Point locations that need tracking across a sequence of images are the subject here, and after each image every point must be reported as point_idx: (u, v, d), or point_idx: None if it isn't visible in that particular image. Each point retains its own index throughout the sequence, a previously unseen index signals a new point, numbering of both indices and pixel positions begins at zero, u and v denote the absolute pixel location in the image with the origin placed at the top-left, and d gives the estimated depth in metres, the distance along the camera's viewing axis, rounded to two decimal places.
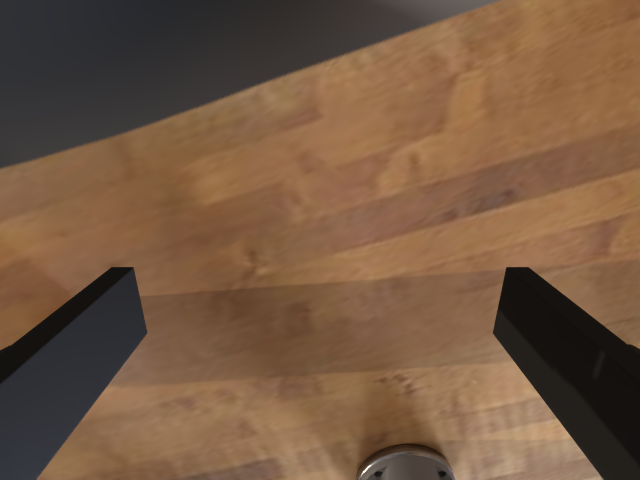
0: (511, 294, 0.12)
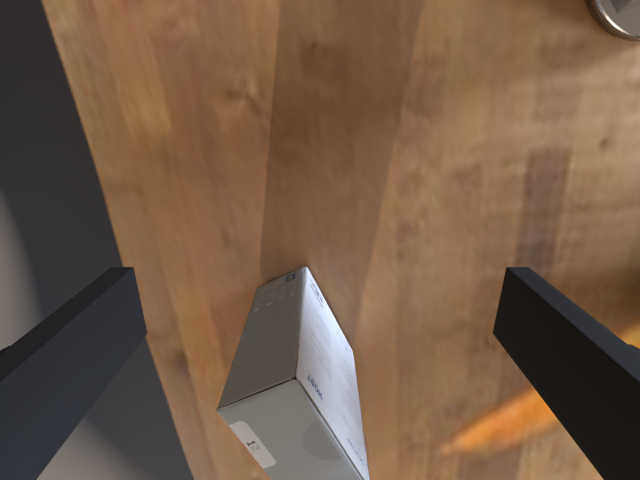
0: (511, 294, 0.12)
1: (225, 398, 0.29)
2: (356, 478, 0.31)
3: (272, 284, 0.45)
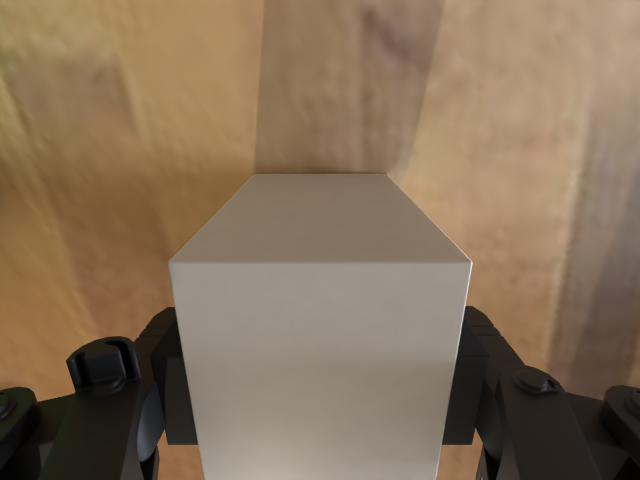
0: None
1: None
2: None
3: None
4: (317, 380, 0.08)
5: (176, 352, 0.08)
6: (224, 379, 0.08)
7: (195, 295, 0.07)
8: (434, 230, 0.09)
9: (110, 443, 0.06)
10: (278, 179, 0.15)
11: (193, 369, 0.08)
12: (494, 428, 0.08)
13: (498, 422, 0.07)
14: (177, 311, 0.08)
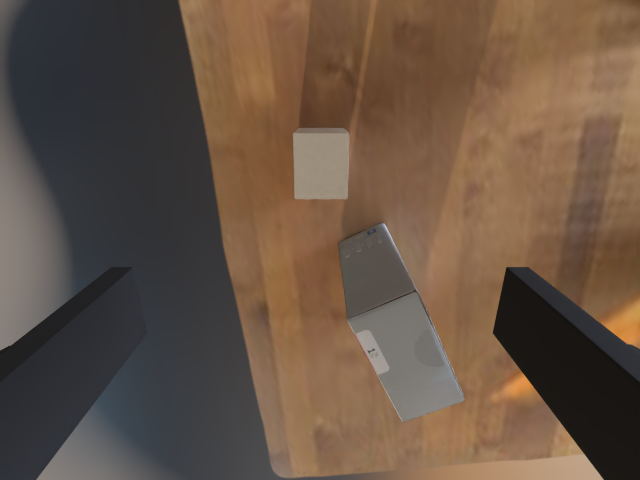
0: (511, 294, 0.12)
1: (352, 312, 0.35)
2: (454, 384, 0.37)
3: (354, 238, 0.51)
4: (320, 161, 0.39)
5: None
6: (301, 160, 0.39)
7: (297, 140, 0.38)
8: None
9: None
10: (307, 128, 0.46)
11: (295, 158, 0.39)
12: None
13: None
14: (293, 144, 0.38)
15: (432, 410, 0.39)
